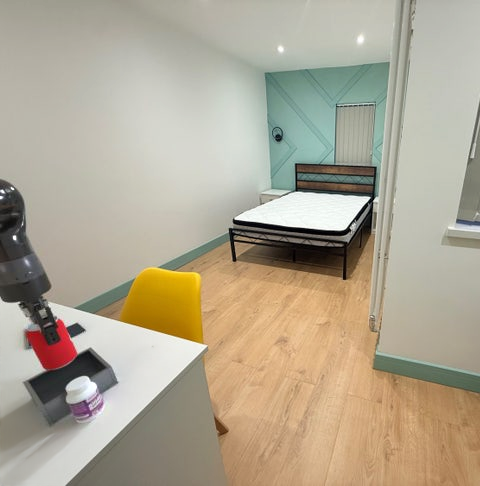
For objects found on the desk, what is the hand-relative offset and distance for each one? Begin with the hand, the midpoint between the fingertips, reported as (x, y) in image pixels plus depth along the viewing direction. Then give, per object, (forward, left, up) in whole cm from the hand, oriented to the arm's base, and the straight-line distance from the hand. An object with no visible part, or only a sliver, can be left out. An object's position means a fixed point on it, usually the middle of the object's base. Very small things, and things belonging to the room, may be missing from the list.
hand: (49, 337), depth 62 cm
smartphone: (+3, +38, -18) cm, 42 cm away
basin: (0, 0, -17) cm, 17 cm away
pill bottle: (0, -11, -18) cm, 21 cm away
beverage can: (0, 0, -8) cm, 8 cm away
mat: (+6, +30, -17) cm, 35 cm away
